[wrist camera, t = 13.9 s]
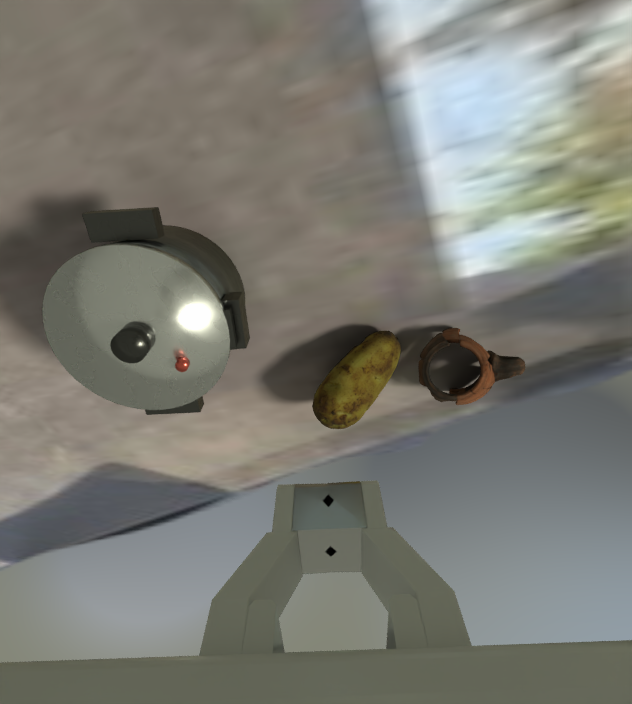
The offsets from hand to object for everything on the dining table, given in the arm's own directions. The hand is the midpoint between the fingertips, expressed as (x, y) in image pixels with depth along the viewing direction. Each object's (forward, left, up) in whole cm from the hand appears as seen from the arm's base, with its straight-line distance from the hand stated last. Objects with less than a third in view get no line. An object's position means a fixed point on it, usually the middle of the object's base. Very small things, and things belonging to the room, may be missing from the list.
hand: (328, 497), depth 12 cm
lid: (+5, -17, -25) cm, 30 cm away
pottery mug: (+15, +18, -35) cm, 42 cm away
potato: (+16, +4, -35) cm, 39 cm away
